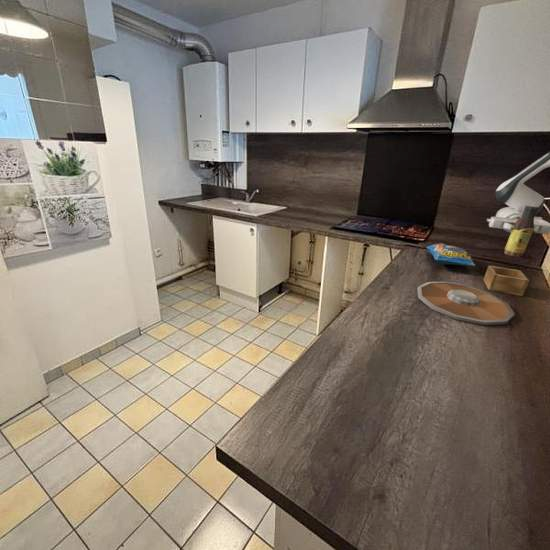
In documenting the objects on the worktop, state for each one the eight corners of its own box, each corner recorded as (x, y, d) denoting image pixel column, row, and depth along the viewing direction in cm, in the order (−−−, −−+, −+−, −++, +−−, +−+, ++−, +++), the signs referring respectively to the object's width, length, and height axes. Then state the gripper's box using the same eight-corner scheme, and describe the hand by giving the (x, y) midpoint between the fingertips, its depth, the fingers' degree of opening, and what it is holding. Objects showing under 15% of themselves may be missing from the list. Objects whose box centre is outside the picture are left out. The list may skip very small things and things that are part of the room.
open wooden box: (514, 285, 120) (520, 270, 117) (522, 296, 111) (529, 280, 108) (483, 279, 124) (488, 265, 121) (488, 289, 115) (494, 274, 112)
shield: (427, 270, 122) (516, 292, 106) (425, 277, 123) (513, 300, 107) (408, 296, 100) (517, 329, 84) (406, 304, 101) (513, 338, 85)
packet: (432, 269, 132) (437, 252, 129) (424, 253, 153) (428, 237, 149) (474, 275, 128) (481, 257, 124) (460, 258, 148) (466, 242, 145)
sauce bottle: (514, 258, 115) (533, 207, 107) (499, 253, 120) (516, 204, 112) (526, 257, 117) (546, 207, 109) (511, 252, 122) (529, 204, 114)
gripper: (488, 211, 127) (495, 217, 116) (546, 217, 120) (560, 224, 108) (483, 225, 130) (489, 233, 118) (540, 232, 123) (552, 241, 111)
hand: (524, 229), depth 113 cm, fingers closed on sauce bottle, 6 cm apart
